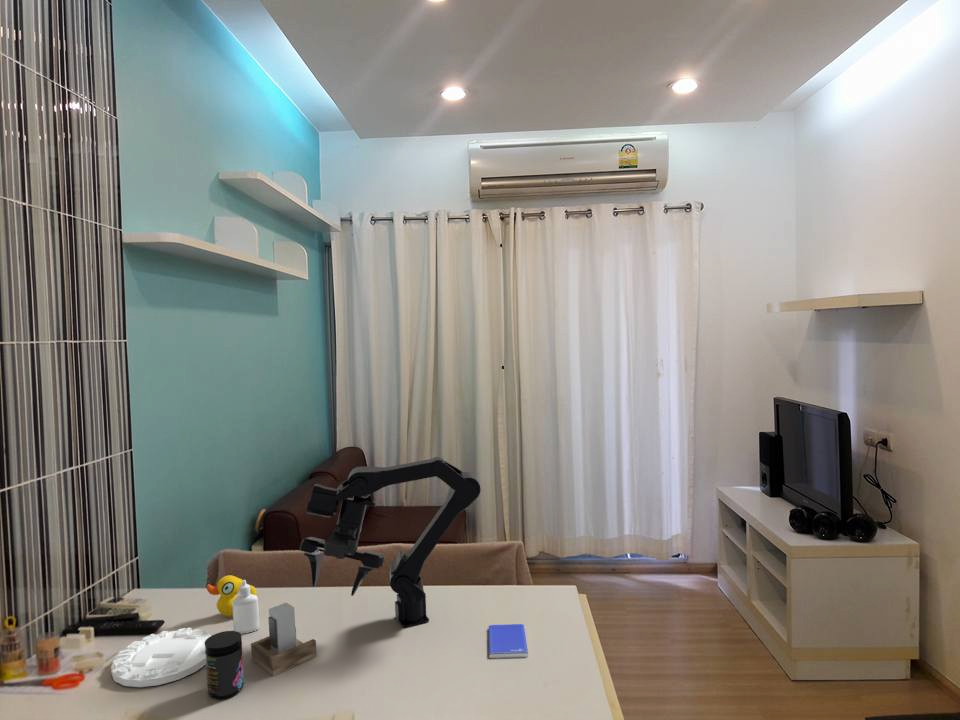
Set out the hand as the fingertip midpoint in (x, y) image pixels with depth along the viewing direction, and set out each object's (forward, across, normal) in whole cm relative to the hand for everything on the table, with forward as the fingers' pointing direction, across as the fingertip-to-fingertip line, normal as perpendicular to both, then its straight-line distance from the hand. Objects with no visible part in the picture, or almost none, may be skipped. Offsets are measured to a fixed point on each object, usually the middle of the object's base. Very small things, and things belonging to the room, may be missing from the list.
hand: (333, 590), depth 143 cm
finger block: (+13, -5, -7) cm, 16 cm away
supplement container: (+19, -11, -18) cm, 29 cm away
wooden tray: (+14, -5, -7) cm, 16 cm away
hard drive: (+2, +41, 0) cm, 41 cm away
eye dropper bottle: (+14, -19, +5) cm, 24 cm away
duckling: (+14, -26, +12) cm, 32 cm away
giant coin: (+21, -30, -8) cm, 37 cm away
